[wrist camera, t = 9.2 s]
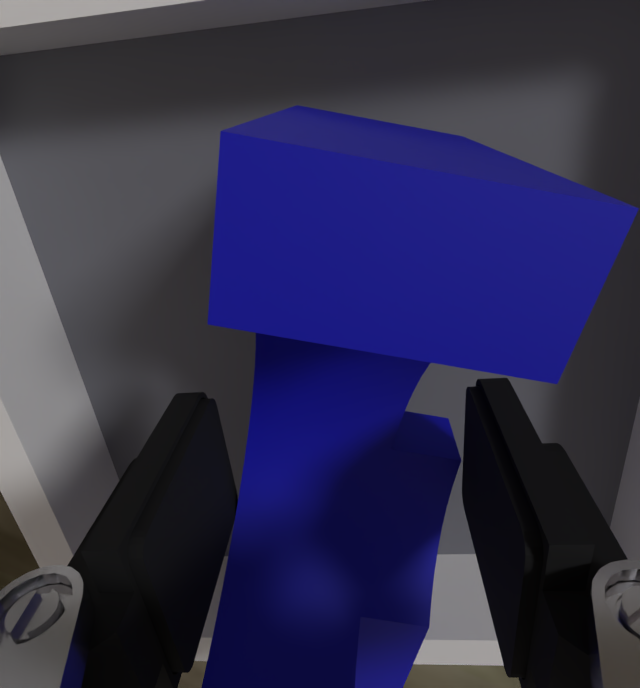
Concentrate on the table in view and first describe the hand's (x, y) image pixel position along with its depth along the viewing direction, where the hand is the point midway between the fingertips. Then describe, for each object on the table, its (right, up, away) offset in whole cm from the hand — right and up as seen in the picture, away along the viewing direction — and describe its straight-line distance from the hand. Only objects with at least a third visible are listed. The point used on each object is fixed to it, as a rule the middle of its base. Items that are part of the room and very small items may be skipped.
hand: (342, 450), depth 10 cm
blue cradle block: (0, +1, +2) cm, 2 cm away
